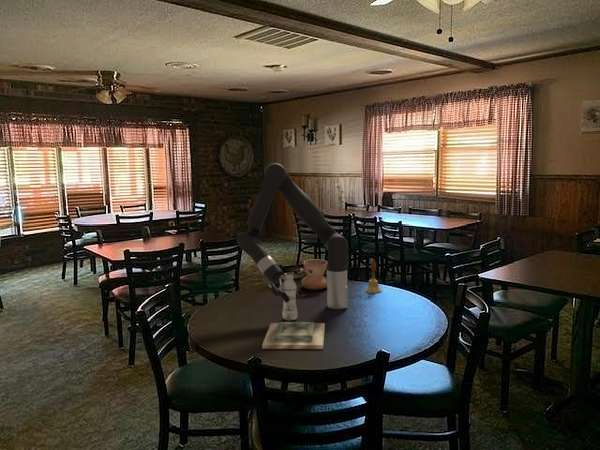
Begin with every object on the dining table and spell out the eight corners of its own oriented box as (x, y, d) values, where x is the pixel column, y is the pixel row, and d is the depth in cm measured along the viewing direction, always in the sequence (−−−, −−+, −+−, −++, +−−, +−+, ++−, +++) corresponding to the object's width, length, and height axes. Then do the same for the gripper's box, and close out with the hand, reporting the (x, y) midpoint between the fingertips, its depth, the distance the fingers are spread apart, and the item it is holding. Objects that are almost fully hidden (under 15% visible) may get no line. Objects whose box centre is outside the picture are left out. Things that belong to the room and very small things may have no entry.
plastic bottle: (286, 323, 197) (285, 277, 194) (279, 318, 203) (278, 273, 200) (300, 320, 200) (299, 274, 197) (293, 316, 206) (291, 271, 203)
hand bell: (363, 289, 243) (363, 258, 241) (379, 288, 244) (379, 257, 242) (367, 293, 235) (367, 262, 233) (383, 292, 236) (383, 261, 233)
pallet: (324, 326, 192) (324, 318, 192) (322, 349, 170) (322, 339, 170) (271, 326, 194) (270, 318, 194) (262, 348, 172) (262, 339, 172)
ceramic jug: (305, 293, 238) (305, 266, 236) (295, 286, 251) (295, 259, 249) (337, 289, 244) (338, 263, 242) (326, 282, 258) (326, 257, 255)
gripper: (263, 266, 196) (287, 298, 191) (284, 259, 208) (307, 289, 203) (254, 277, 200) (277, 309, 195) (275, 270, 212) (297, 299, 207)
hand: (292, 299), depth 199 cm, fingers closed on plastic bottle, 6 cm apart
